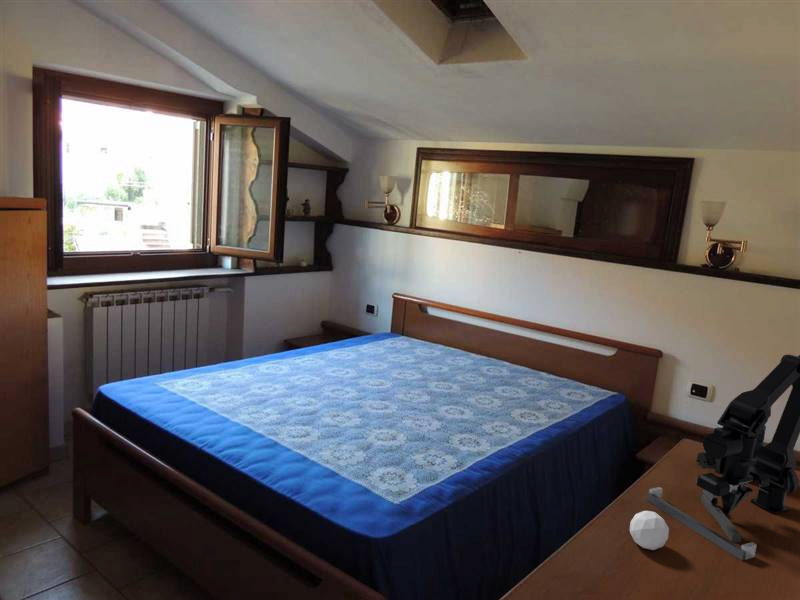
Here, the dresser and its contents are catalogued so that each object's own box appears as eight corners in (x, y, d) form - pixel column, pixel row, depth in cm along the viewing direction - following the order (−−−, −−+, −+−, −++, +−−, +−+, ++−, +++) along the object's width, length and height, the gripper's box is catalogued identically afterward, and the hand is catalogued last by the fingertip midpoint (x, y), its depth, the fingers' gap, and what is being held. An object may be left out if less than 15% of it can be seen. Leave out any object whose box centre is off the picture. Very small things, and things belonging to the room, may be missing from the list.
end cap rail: (657, 498, 157) (659, 486, 157) (754, 557, 134) (756, 544, 134) (646, 500, 155) (648, 489, 155) (741, 560, 133) (744, 547, 132)
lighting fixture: (742, 545, 140) (746, 527, 139) (730, 543, 140) (734, 526, 139) (709, 502, 158) (713, 486, 157) (699, 501, 158) (702, 485, 158)
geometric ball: (644, 562, 134) (637, 542, 129) (627, 530, 140) (620, 511, 136) (678, 549, 133) (672, 529, 129) (659, 518, 140) (653, 497, 135)
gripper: (734, 434, 157) (723, 491, 160) (682, 441, 149) (671, 502, 152) (777, 453, 148) (764, 513, 150) (724, 462, 139) (711, 526, 142)
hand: (726, 513), depth 149 cm, fingers closed
